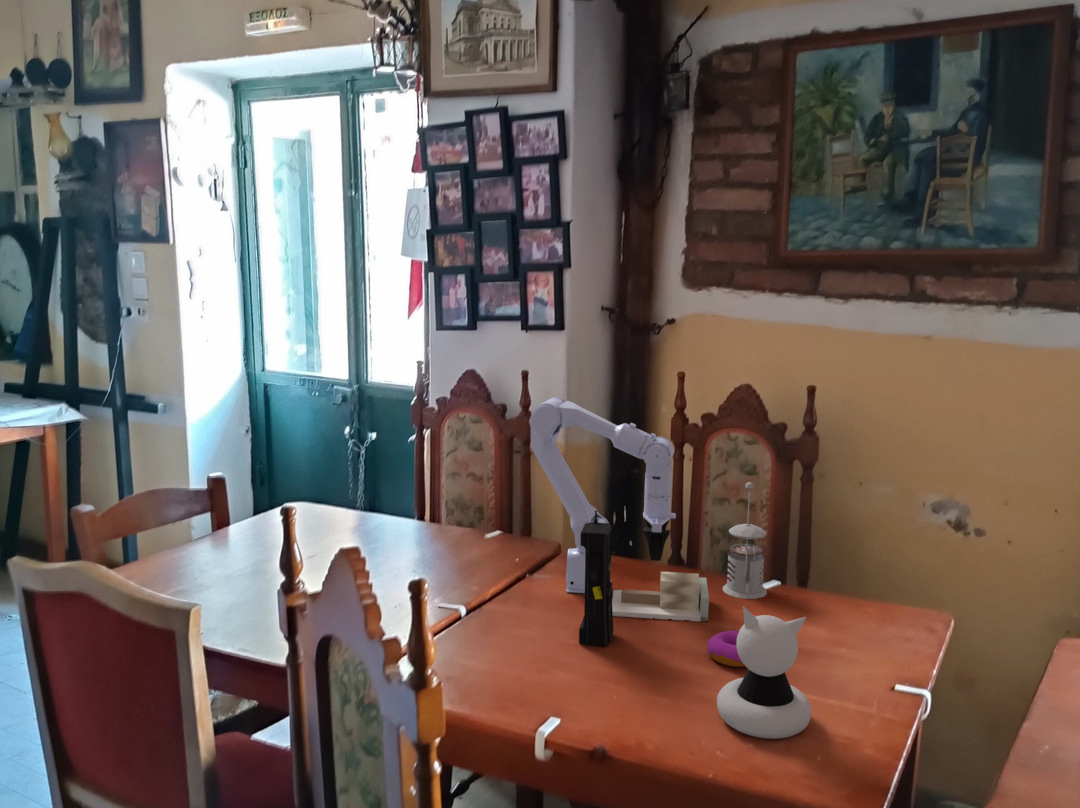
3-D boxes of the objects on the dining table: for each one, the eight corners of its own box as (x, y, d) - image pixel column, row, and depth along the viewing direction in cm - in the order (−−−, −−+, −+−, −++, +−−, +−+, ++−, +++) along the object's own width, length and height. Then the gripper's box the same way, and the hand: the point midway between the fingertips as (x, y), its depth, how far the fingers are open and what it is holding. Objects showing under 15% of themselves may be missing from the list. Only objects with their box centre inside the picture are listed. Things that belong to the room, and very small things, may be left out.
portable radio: (609, 650, 169) (611, 523, 165) (577, 647, 170) (579, 521, 166) (614, 632, 177) (616, 511, 172) (584, 630, 178) (586, 509, 174)
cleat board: (610, 615, 185) (610, 592, 184) (613, 594, 197) (614, 572, 196) (707, 621, 182) (708, 598, 181) (705, 599, 194) (706, 577, 193)
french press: (763, 583, 204) (769, 477, 199) (771, 603, 192) (777, 491, 188) (720, 581, 205) (724, 476, 200) (725, 600, 193) (730, 489, 189)
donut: (736, 643, 173) (737, 621, 172) (775, 664, 164) (777, 641, 163) (696, 655, 167) (697, 632, 167) (734, 677, 159) (735, 653, 158)
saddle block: (659, 608, 186) (660, 581, 185) (659, 598, 192) (660, 571, 191) (698, 610, 185) (699, 583, 184) (697, 600, 191) (698, 573, 190)
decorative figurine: (793, 697, 152) (800, 586, 148) (823, 744, 137) (831, 622, 134) (707, 698, 151) (712, 586, 148) (728, 745, 137) (733, 622, 133)
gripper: (676, 504, 185) (674, 566, 187) (676, 486, 199) (674, 544, 201) (642, 502, 186) (641, 564, 188) (644, 484, 200) (642, 542, 202)
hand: (655, 554), depth 195 cm, fingers open, 7 cm apart
